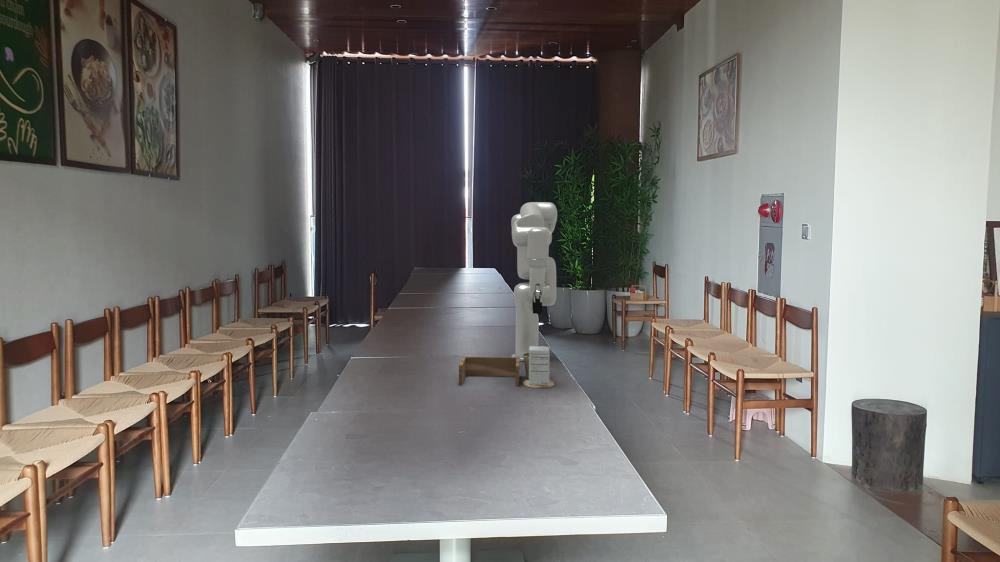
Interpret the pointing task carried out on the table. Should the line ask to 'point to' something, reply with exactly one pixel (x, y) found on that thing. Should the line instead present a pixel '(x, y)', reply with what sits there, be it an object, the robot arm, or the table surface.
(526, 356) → the flower pot
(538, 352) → the supplement box
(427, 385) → the table surface
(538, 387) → the coaster
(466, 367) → the brown angled piece
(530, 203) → the robot arm
